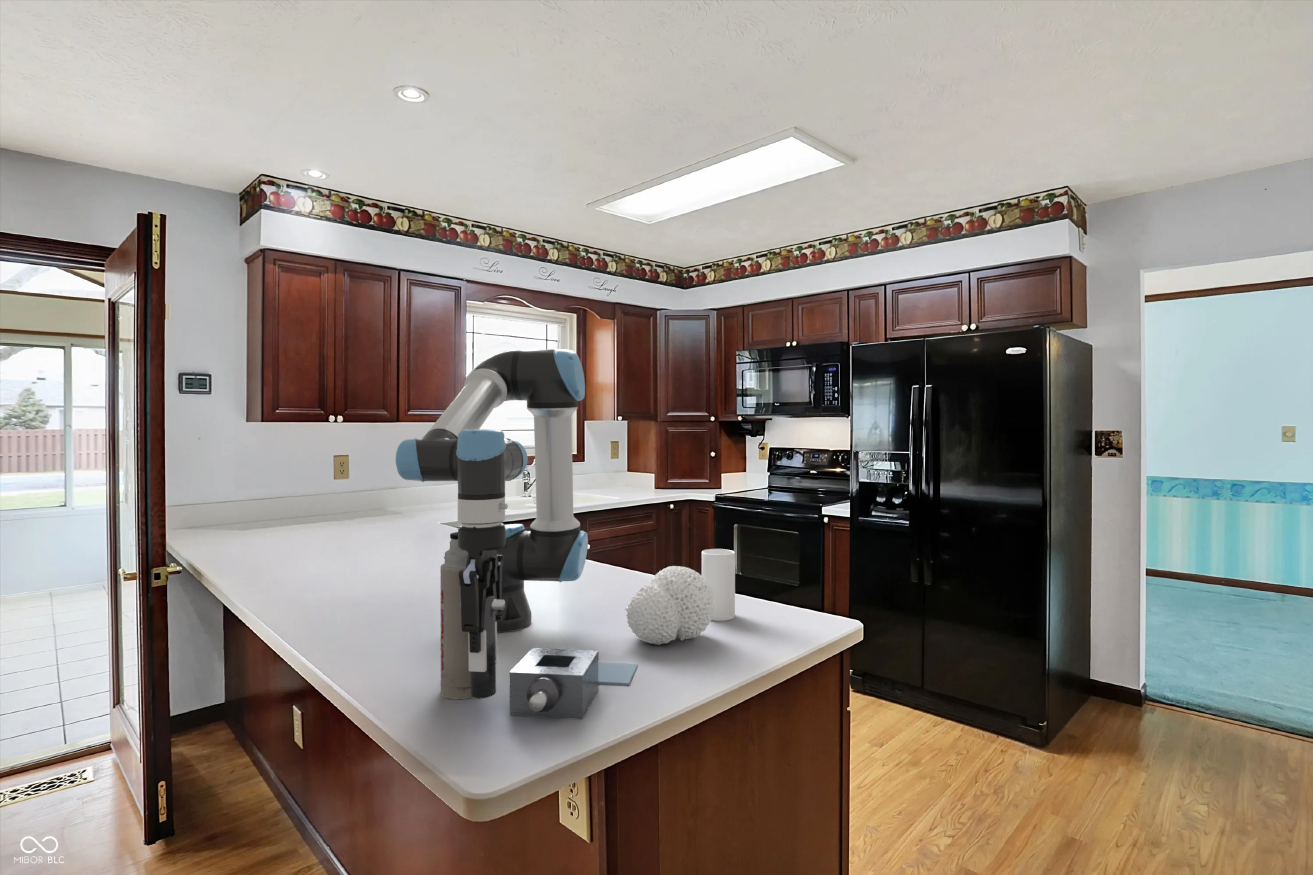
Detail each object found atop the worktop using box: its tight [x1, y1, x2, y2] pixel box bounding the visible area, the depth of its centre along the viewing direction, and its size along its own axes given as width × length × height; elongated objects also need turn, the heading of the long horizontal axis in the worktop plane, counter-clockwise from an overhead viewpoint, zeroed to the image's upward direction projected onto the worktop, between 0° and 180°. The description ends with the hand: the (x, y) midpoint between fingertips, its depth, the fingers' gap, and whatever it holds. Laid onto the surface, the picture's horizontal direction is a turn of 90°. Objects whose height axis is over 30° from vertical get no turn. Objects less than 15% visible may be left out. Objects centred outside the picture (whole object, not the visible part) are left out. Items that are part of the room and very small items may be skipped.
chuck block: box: [509, 647, 599, 720], centre depth 110 cm, size 12×17×7 cm
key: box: [460, 594, 505, 699], centre depth 110 cm, size 7×4×16 cm, turn 83°
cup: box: [701, 548, 736, 622], centre depth 165 cm, size 8×8×16 cm
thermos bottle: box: [440, 531, 474, 700], centre depth 118 cm, size 8×8×28 cm
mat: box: [598, 661, 638, 686], centre depth 126 cm, size 10×10×1 cm
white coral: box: [625, 565, 714, 646], centre depth 147 cm, size 20×18×16 cm
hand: (483, 664), depth 110 cm, fingers closed on key, 4 cm apart
